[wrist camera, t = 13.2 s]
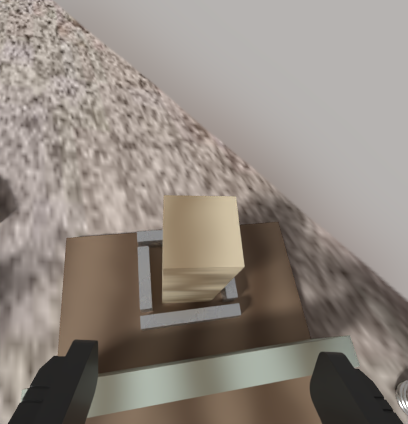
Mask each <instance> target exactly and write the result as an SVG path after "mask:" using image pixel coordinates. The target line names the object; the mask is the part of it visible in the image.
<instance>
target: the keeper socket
mask: <svg viewBox="0 0 408 424" xmlns="http://www.w3.org/2000/svg"><path fill="white" fill-rule="evenodd" d="M137 243H138V247H137V248H138V273H139V298H140V311H141V313H143V312H151V311H153V307H152V290H151V273H150V256H149V248H156V247H163V230H154V231H141V232H137ZM221 295H222V301H223V302H229V301H233V300H235V299H236V298H238V294H237V289H236V284H235V278H233V279H232V280H231V281H230V282H229V283H228V284H227V285H226V286H225V287H224V288H223V289H222V290H221ZM240 315H241V310H240V305H239V303H236V304H228V305H221V306H213V307H205V308H198V309H190V310H182V311H175V312H167V313H159V314H152V315H144V316H140V323H141V330H142V331H144V330H151V329H158V328H165V327H172V326H180V325H187V324H194V323H201V322H208V321H215V320H222V319H229V318H236V317H238V316H240Z"/></svg>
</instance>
